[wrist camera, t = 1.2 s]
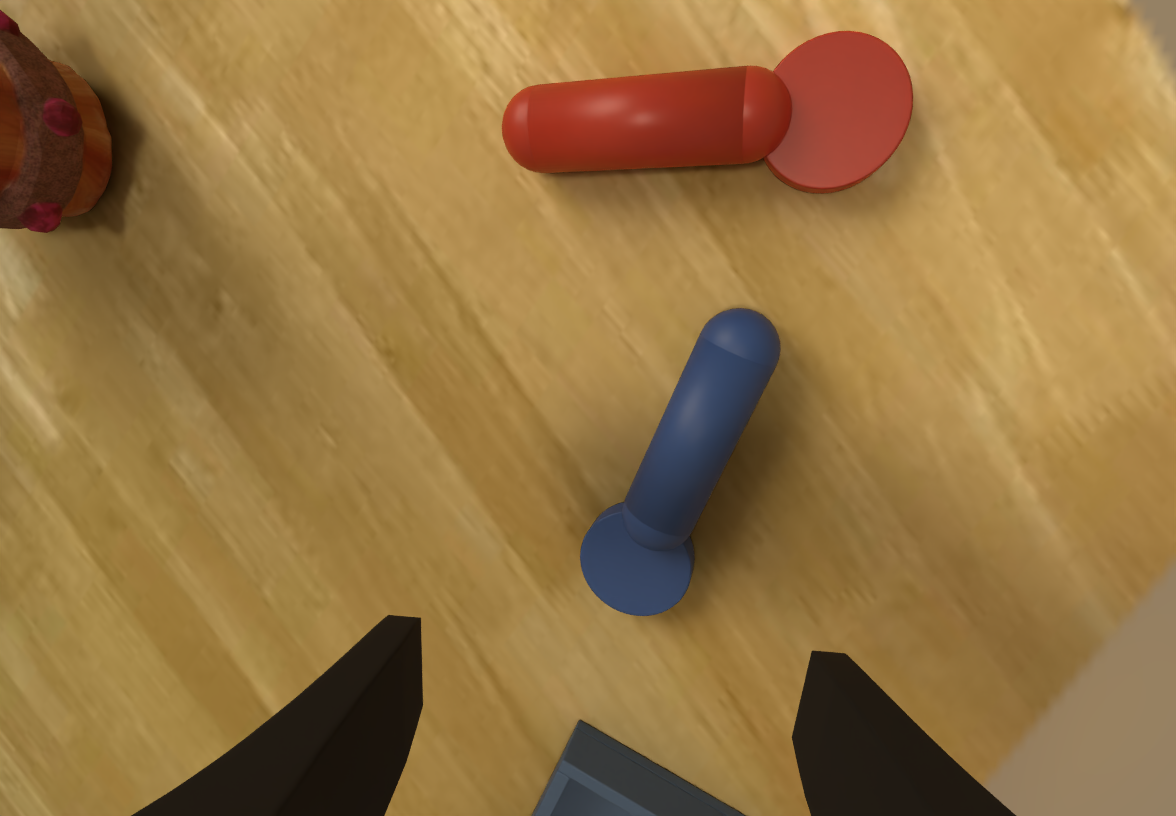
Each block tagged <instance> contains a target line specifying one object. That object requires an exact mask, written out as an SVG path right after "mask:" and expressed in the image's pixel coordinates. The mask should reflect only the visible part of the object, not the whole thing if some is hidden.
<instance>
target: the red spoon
mask: <svg viewBox="0 0 1176 816" xmlns="http://www.w3.org/2000/svg"><path fill="white" fill-rule="evenodd" d="M912 108H913V90H912V83H911V79H910V75H909V73H908V70H907V68H906V66H905V64H904V62H903V61H902V59H901V58H900V56H899V55H898V54H897V53H896V52H895V50H894V49H892V48H891V47H890V46H889V45H888V44H887V43H885V42H883V41H882V40H880V39H879V38H876V37H874V36H872V35H869V34H865V33H861V32H854V31H838V32H832V33H827V34H824V35H820V36H817V37H815V38H813V39H811V40H808V41H807V42H805V43H803V44H801V45H800V46H798V47H797V48H796V49H794V50H793V51H792V52H790V53H789V54H788V55H787V56H786V57H785V58H784V59H783V60H782V61H781V62H780V63H779V64H778V66H777V67H776V68H775V69H774V71H773V72H772V71H770V70H768V69H766V68H763V67H759V66H739V67H728V68H717V69H706V70H695V71H684V72H673V73H662V74H651V75H640V76H629V77H618V78H607V79H596V80H585V81H573V82H562V83H551V84H540V85H534V86H530V87H527V88H525V89H523V90H521V91H520V92H519V93H518V94H516V95H515V96H514V97H513V98H512V99H511V101H510V102H509V104H508V105H507V108H506V110H505V112H504V116H503V121H502V135H503V139H504V143H505V145H506V148H507V150H508V152H509V153H510V155H511V156H512V157H513V159H514V160H515V161H516V162H517V163H518V164H520V165H521V166H522V167H524V168H526V169H528V170H530V171H534V172H539V173H556V172H578V171H599V170H620V169H642V168H663V167H685V166H706V165H727V164H745V163H752V162H755V161H758V160H760V159H762V158H763V159H764V161H765V163H766V164H767V166H768V167H769V169H770V170H771V171H772V172H773V174H774V175H775V176H776V177H778V178H779V179H780V180H781V181H782V182H784V183H785V184H787V185H789V186H791V187H793V188H795V189H798V190H801V191H804V192H810V193H832V192H836V191H841V190H844V189H847V188H850V187H852V186H854V185H856V184H858V183H860V182H862V181H863V180H865V179H866V178H868V177H869V176H870V175H872V174H873V173H874V172H875V171H877V170H878V169H879V168H880V167H881V166H882V165H883V164H884V163H885V162H886V161H887V160H888V159H889V158H890V157H891V155H892V154H893V153H894V152H895V150H896V149H897V147H898V146H899V144H900V142H901V141H902V139H903V137H904V135H905V133H906V130H907V128H908V125H909V122H910V119H911V113H912Z"/></svg>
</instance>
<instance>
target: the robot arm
mask: <svg viewBox="0 0 1176 816" xmlns="http://www.w3.org/2000/svg"><path fill="white" fill-rule="evenodd" d="M422 707H423V689H422V647H421V618H417V617H405V616H393V615H388V616H387V617H385V618H384V619H383V620H382V621H381V622H379V623H378V624H377V625H376V626H375V627H374V628H373V629H372V630H371V631H370V632H368V633H367V634H366V635H365V636H364V637H363V638H362V639H361V640H360V641H359V642H358V643H357V644H356V645H354V646H353V647H352V648H351V649H350V650H349V651H348V652H347V653H346V654H345V655H344V656H342V657H341V658H340V659H339V660H338V661H337V662H336V663H335V664H334V665H333V666H332V667H330V668H329V669H328V670H327V671H326V672H325V673H324V674H322V675H321V676H320V677H319V678H318V679H317V680H316V681H314V682H313V683H312V684H311V685H310V686H309V687H308V688H306V689H305V690H304V691H303V692H302V693H301V694H300V695H298V696H297V697H296V698H295V699H294V700H292V701H291V702H290V703H289V704H288V705H286V706H285V707H284V708H283V709H281V710H280V711H279V712H278V713H276V714H275V715H274V716H273V717H271V718H270V719H269V720H268V721H266V722H265V723H264V724H263V725H261V726H260V727H259V728H258V729H256V730H255V731H254V732H253V733H252V734H250V735H249V736H248V737H246V738H245V739H244V740H242V741H241V742H240V743H239V744H237V745H236V746H234V747H233V748H232V749H230V750H229V751H228V752H226V753H225V754H224V755H222V756H221V757H220V758H218V759H217V760H216V761H214V762H213V763H211V764H210V765H208V766H207V767H206V768H204V769H203V770H201V771H200V772H198V773H197V774H195V775H194V776H193V777H191V778H190V779H188V780H187V781H185V782H184V783H182V784H181V785H179V786H178V787H176V788H175V789H173V790H172V791H170V792H169V793H167V794H166V795H164V796H162V797H161V798H159V799H157V800H156V801H154V802H153V803H151V804H149V805H148V806H146V807H145V808H143V809H141V810H140V811H138V812H136V813H135V814H133V815H132V816H384V815H385V813H386V810H387V808H388V805H389V803H390V801H391V798H392V796H393V793H394V791H395V788H396V786H397V784H398V781H399V779H400V776H401V774H402V771H403V769H404V766H405V764H406V761H407V758H408V755H409V751H410V748H411V745H412V741H413V738H414V735H415V731H416V728H417V724H418V721H419V717H420V714H421V710H422ZM792 740H793V745H794V750H795V754H796V759H797V764H798V768H799V773H800V777H801V781H802V785H803V789H804V794H805V798H806V801H807V804H808V807H809V810H810V813H811V816H1016V815H1015V814H1013V813H1012V812H1011V811H1010V810H1009V809H1008V808H1007V807H1006V806H1004V805H1003V804H1002V803H1001V802H1000V801H999V800H998V799H996V798H995V797H994V796H993V795H992V794H991V793H990V792H989V791H988V790H986V789H985V788H984V787H983V786H982V785H981V784H980V783H979V782H977V781H976V780H975V779H974V778H973V777H972V776H971V775H970V774H968V773H967V772H966V771H965V770H964V769H963V768H962V767H961V766H960V765H959V764H958V763H957V762H956V761H954V760H953V759H952V758H951V757H950V756H949V755H948V754H947V753H946V752H945V751H944V750H943V749H942V748H941V747H940V746H939V745H938V744H937V743H935V742H934V741H933V740H932V739H931V738H930V737H929V736H928V735H927V734H926V733H925V732H924V731H923V730H922V729H921V728H920V727H919V726H918V725H917V724H916V723H915V722H914V721H913V720H912V719H911V718H910V717H909V716H908V715H907V714H906V713H905V712H904V711H903V710H902V709H901V708H900V707H899V706H898V705H897V704H896V703H895V702H894V701H893V700H892V699H891V698H890V697H889V696H888V695H887V694H886V693H885V692H884V691H883V690H882V689H881V688H880V687H879V686H878V685H877V684H876V683H875V682H874V681H873V680H872V679H871V678H870V677H869V676H868V675H867V674H866V673H865V672H864V671H863V670H862V669H861V668H860V667H859V666H858V665H857V664H856V663H855V662H854V661H853V660H852V659H851V658H850V657H849V656H848V655H847V654H845V653H834V652H822V651H812V652H811V657H810V661H809V665H808V670H807V674H806V678H805V683H804V687H803V691H802V696H801V700H800V704H799V709H798V713H797V717H796V722H795V726H794V730H793V735H792Z"/></svg>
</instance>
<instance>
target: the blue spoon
mask: <svg viewBox="0 0 1176 816" xmlns="http://www.w3.org/2000/svg"><path fill="white" fill-rule="evenodd" d="M779 356H780V340H779V336H778V333H777V331H776V329H775V327H774V326H773V325H772V323H771V322H770V321H769V320H768V319H767V318H766V317H765V316H763V315H762V314H760V313H758V312H756V311H753V310H750V309H743V308H736V309H730V310H726V311H723V312H721V313H719V314H717V315H716V316H714V317H713V318H712V319H711V320H709V322H708V323H707V324H706V325H705V326H704V328H703V330H702V331H701V333H700V335H699V338H698V340H697V342H696V344H695V346H694V349H693V351H692V353H691V355H690V357H689V360H688V362H687V364H686V366H685V368H684V371H683V373H682V375H681V377H680V379H679V381H678V384H677V386H676V388H675V390H674V392H673V395H672V397H671V399H670V401H669V403H668V406H667V408H666V410H665V412H664V414H663V417H662V419H661V421H660V423H659V425H658V428H657V430H656V432H655V434H654V436H653V439H652V441H651V443H650V445H649V447H648V450H647V452H646V454H645V456H644V458H643V460H642V463H641V465H640V467H639V469H638V471H637V474H636V476H635V478H634V480H633V482H632V485H631V487H630V489H629V491H628V493H627V496H626V498H625V501H624V502H623V503H619V504H616V505H614V506H612V507H610V508H608V509H607V510H605V511H604V512H603V513H602V514H601V515H600V516H599V517H598V518H597V519H596V520H595V522H594V523H593V525H592V526H591V528H590V529H589V530H588V532H587V534H586V535H585V537H584V540H583V543H582V546H581V553H580V560H581V567H582V571H583V574H584V577H585V579H586V581H587V583H588V585H589V586H590V588H591V590H592V591H593V592H594V593H595V594H596V596H598V597H599V598H600V599H601V600H602V601H603V602H604V603H606V604H607V605H609V606H610V607H612V608H614V609H616V610H618V611H620V612H623V613H626V614H630V615H636V616H649V615H655V614H659V613H662V612H664V611H666V610H668V609H670V608H671V607H673V606H674V605H675V604H677V603H678V602H679V601H680V600H681V598H682V597H683V596H684V594H685V593H686V591H687V589H688V586H689V583H690V579H691V575H692V571H693V567H694V560H695V556H694V548H693V544H692V541H691V538H690V536H689V535H690V534H691V533H692V531H693V529H694V527H695V525H696V523H697V521H698V519H699V517H700V515H701V513H702V511H703V509H704V507H705V505H706V503H707V501H708V499H709V497H710V495H711V493H712V491H713V489H714V487H715V485H716V484H717V482H718V480H719V478H720V476H721V474H722V472H723V470H724V468H725V466H726V464H727V462H728V460H729V458H730V456H731V454H732V452H733V450H734V448H735V446H736V444H737V442H738V440H739V438H740V436H741V434H742V432H743V430H744V428H745V426H746V424H747V423H748V421H749V419H750V417H751V415H752V413H753V411H754V409H755V407H756V405H757V403H758V401H759V399H760V397H761V395H762V393H763V391H764V389H765V387H766V385H767V383H768V381H769V379H770V377H771V375H772V373H773V371H774V369H775V367H776V365H777V363H778V360H779Z"/></svg>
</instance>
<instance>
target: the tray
mask: <svg viewBox="0 0 1176 816" xmlns="http://www.w3.org/2000/svg"><path fill="white" fill-rule="evenodd" d="M532 816H745V815H743V814H741V813H740V812H738V811H736V810H734V809H733V808H731V807H729V806H728V805H726V804H724V803H722V802H721V801H719V800H717V799H715V798H714V797H712V796H710V795H709V794H707V793H705V792H703V791H702V790H700V789H698V788H696V787H695V786H693V785H691V784H690V783H688V782H686V781H684V780H683V779H681V778H679V777H677V776H676V775H674V774H672V773H671V772H669V771H667V770H665V769H664V768H662V767H660V766H658V765H657V764H655V763H653V762H652V761H650V760H648V759H646V758H645V757H643V756H641V755H639V754H638V753H636V752H634V751H633V750H631V749H629V748H627V747H626V746H624V745H622V744H620V743H619V742H617V741H615V740H614V739H612V738H610V737H608V736H607V735H605V734H603V733H601V732H600V731H598V730H596V729H595V728H593V727H591V726H589V725H588V724H586V723H584V722H582V721H581V720H579V721H578V723H577V725H576V727H575V729H574V731H573V733H572V735H571V737H570V739H569V741H568V743H567V745H566V748H565V750H564V752H563V754H562V756H561V758H560V760H559V762H558V764H557V766H556V768H555V770H554V772H553V774H552V776H551V778H550V780H549V782H548V784H547V786H546V788H545V790H544V792H543V794H542V796H541V798H540V800H539V802H538V804H537V806H536V808H535V810H534V812H533V814H532Z"/></svg>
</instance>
